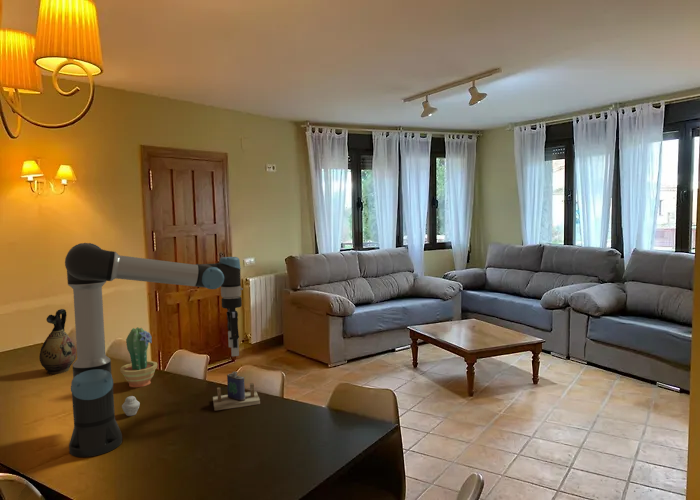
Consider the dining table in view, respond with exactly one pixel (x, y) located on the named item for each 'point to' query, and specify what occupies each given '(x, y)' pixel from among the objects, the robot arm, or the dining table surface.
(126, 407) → the white rounded jar
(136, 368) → the potted cactus
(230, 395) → the flask
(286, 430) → the dining table surface
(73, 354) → the ceramic jug
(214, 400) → the slice holder
